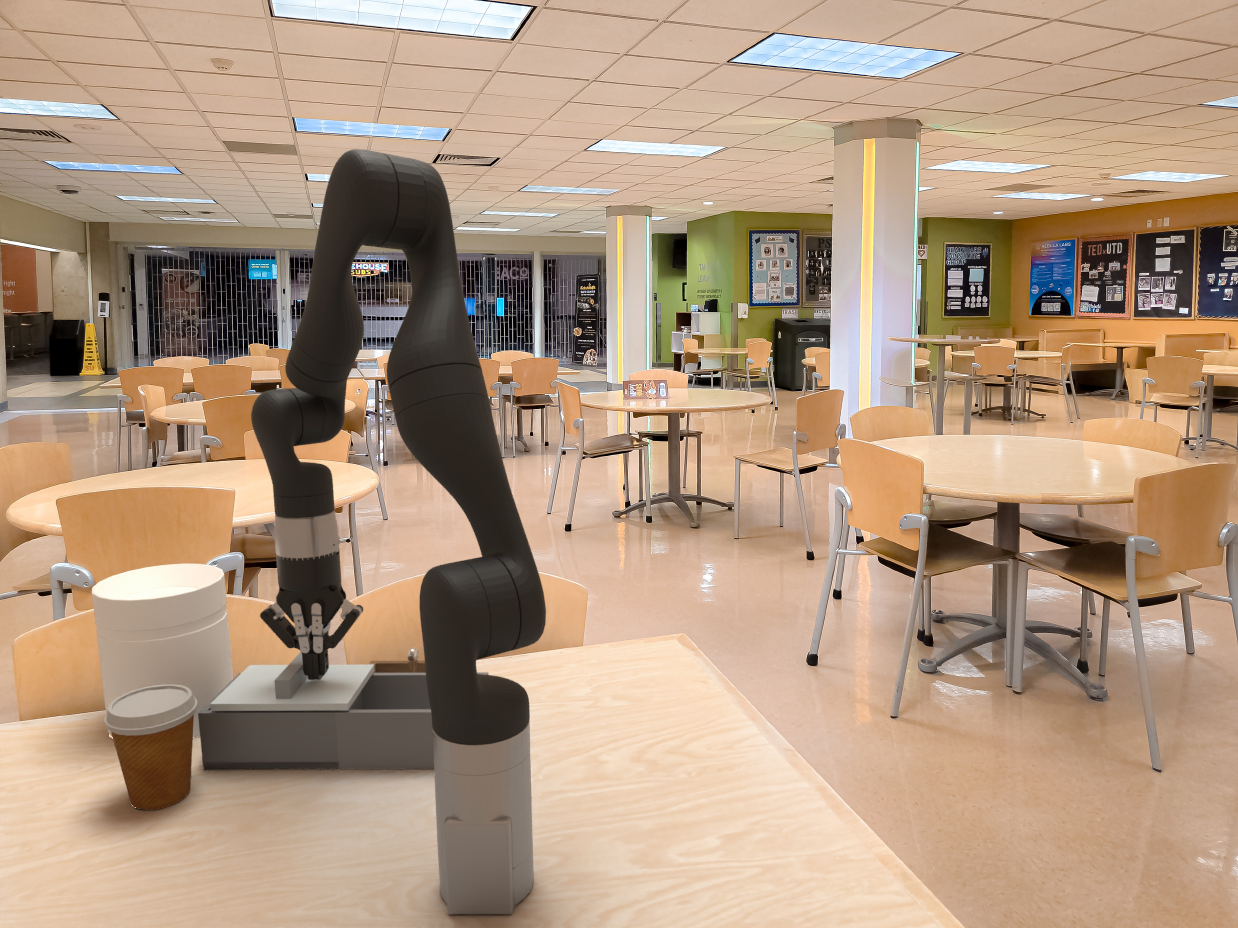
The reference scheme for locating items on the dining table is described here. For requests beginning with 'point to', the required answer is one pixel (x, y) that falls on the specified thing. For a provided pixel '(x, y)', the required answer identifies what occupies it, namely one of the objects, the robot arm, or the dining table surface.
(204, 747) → the frame
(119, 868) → the dining table surface
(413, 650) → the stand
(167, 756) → the disposable coffee cup
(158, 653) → the canister
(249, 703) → the lid
